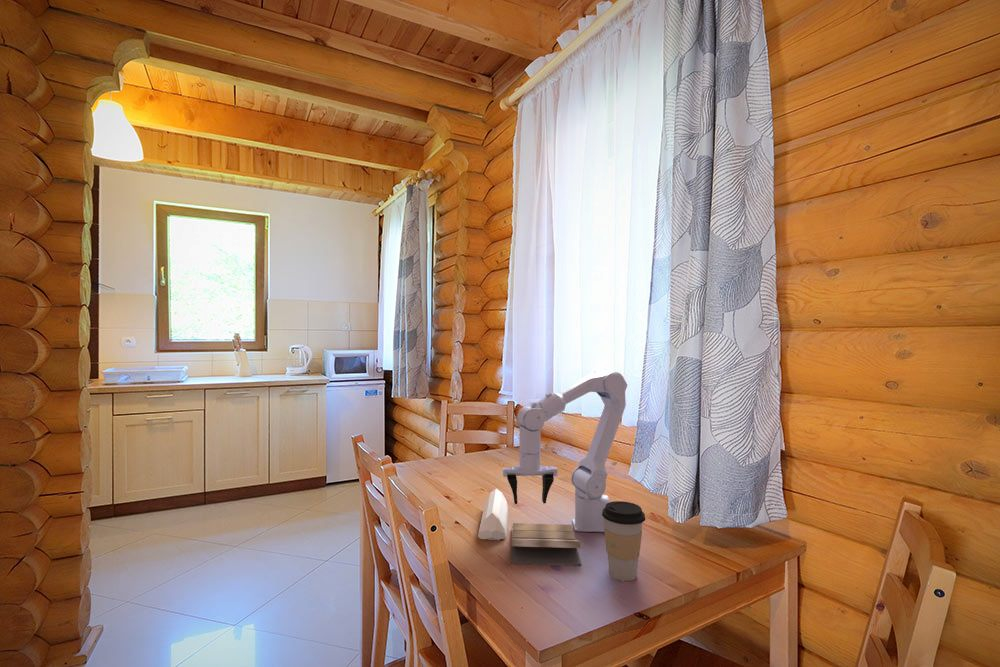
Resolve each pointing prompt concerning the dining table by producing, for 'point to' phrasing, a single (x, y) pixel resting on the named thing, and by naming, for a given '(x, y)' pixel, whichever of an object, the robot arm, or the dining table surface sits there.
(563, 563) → the underlay mat
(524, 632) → the dining table surface
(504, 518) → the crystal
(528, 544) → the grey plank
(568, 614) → the dining table surface
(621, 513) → the coffee cup
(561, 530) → the walnut boards
